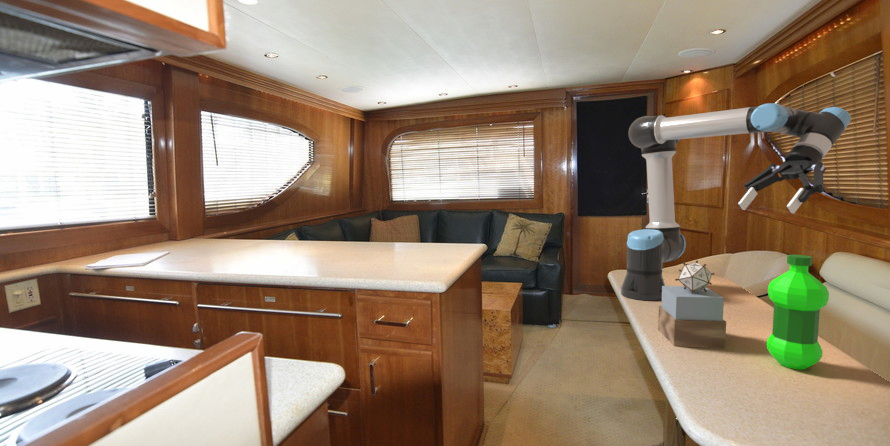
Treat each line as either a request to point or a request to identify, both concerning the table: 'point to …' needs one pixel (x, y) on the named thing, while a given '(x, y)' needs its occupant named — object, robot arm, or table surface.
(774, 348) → the plastic bottle
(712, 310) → the tower top
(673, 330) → the tower base
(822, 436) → the table surface
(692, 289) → the game die
